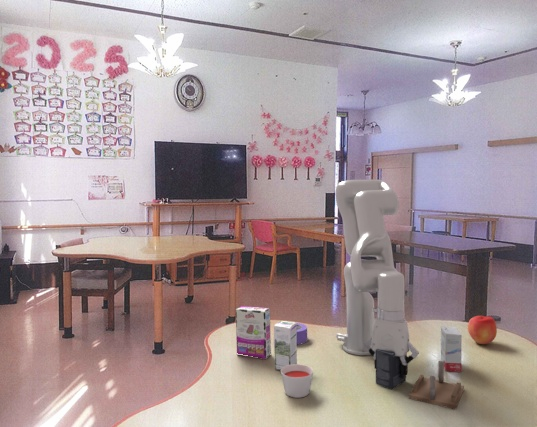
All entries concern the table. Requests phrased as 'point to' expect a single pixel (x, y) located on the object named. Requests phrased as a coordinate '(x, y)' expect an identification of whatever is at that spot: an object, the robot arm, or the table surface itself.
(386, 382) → the box
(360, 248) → the robot arm
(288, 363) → the syrup box
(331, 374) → the table surface
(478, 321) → the apple
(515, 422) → the table surface
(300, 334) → the tape roll
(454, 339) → the ink box
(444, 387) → the cradle
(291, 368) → the candle
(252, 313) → the candy bar box
